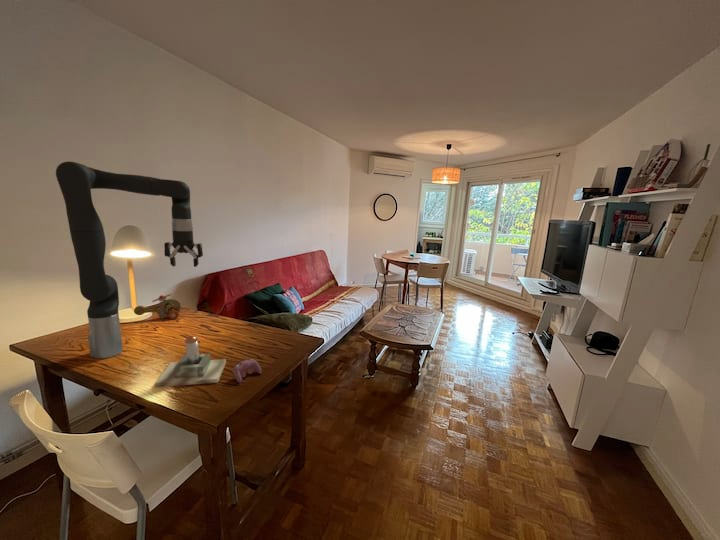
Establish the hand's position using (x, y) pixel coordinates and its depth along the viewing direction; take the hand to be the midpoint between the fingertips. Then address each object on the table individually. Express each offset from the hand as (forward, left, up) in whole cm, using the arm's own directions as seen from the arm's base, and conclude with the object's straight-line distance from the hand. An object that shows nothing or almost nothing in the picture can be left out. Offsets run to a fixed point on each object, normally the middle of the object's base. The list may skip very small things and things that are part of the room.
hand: (184, 266), depth 125 cm
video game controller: (+30, -32, -36) cm, 57 cm away
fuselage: (+10, -28, -34) cm, 46 cm away
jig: (+10, -28, -36) cm, 47 cm away
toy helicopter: (-23, +30, -36) cm, 53 cm away
